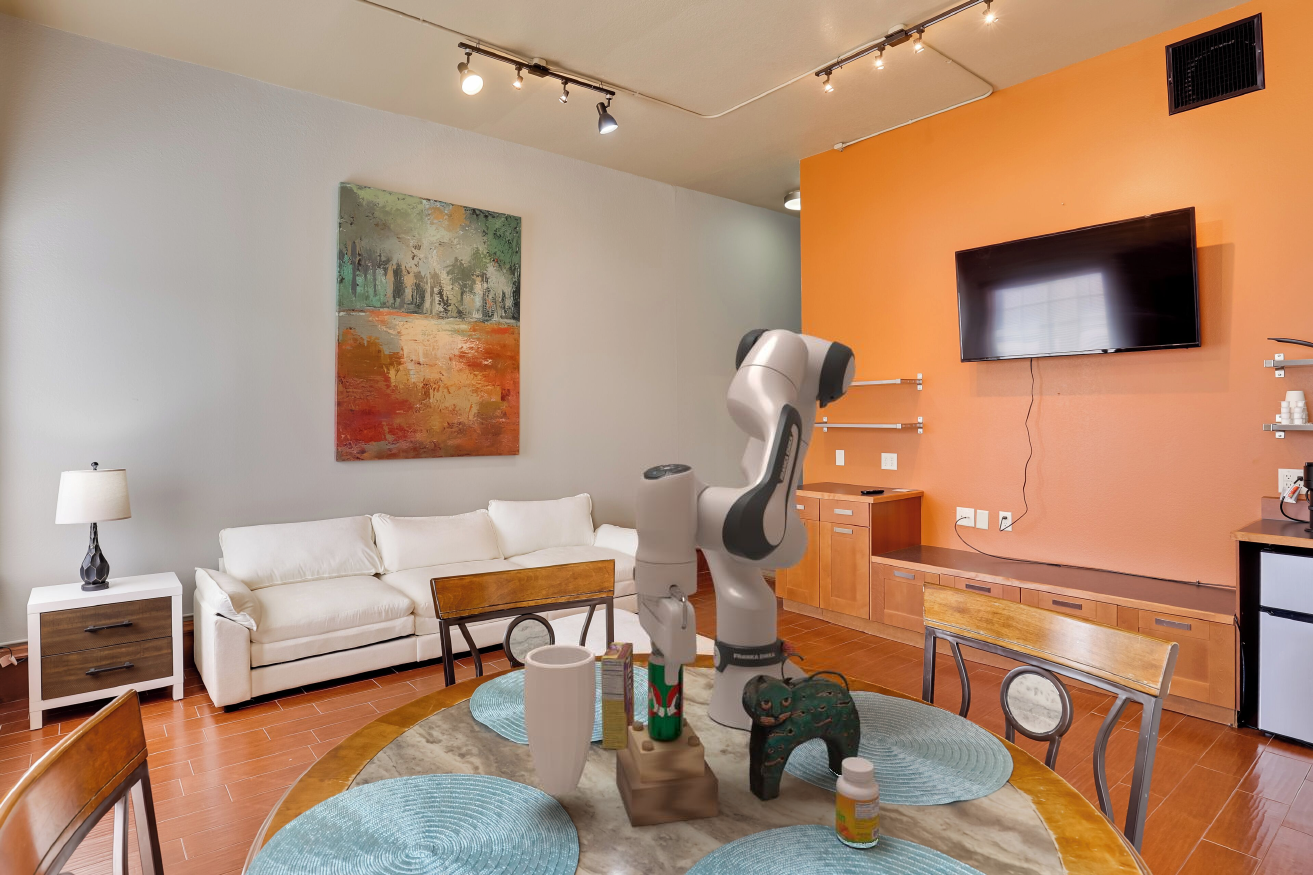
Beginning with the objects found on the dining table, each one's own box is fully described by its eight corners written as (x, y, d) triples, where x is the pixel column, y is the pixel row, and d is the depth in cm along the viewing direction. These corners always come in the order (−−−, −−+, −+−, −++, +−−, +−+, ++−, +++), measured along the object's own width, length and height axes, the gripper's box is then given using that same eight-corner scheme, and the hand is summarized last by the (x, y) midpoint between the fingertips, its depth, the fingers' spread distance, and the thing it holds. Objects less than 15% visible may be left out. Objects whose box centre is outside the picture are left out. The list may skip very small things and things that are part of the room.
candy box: (611, 726, 126) (611, 641, 126) (635, 728, 126) (635, 642, 126) (600, 748, 118) (600, 657, 117) (625, 750, 117) (626, 658, 117)
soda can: (683, 727, 104) (684, 647, 104) (682, 743, 99) (682, 659, 99) (649, 726, 105) (649, 645, 104) (646, 742, 100) (646, 658, 99)
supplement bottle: (829, 827, 95) (830, 754, 95) (869, 825, 95) (869, 753, 95) (843, 851, 90) (844, 774, 89) (885, 849, 90) (886, 773, 90)
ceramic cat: (756, 808, 100) (757, 666, 99) (732, 786, 106) (733, 652, 105) (867, 778, 108) (868, 647, 108) (839, 760, 114) (840, 636, 114)
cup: (565, 837, 92) (565, 672, 92) (506, 813, 98) (506, 657, 97) (612, 801, 101) (612, 650, 101) (555, 782, 107) (555, 638, 106)
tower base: (693, 774, 109) (693, 710, 109) (717, 815, 98) (718, 744, 97) (616, 782, 106) (616, 717, 106) (631, 826, 95) (632, 753, 95)
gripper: (709, 594, 92) (707, 700, 92) (669, 564, 112) (668, 652, 112) (661, 596, 91) (660, 704, 91) (630, 566, 111) (629, 654, 111)
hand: (664, 675), depth 102 cm, fingers open, 5 cm apart
